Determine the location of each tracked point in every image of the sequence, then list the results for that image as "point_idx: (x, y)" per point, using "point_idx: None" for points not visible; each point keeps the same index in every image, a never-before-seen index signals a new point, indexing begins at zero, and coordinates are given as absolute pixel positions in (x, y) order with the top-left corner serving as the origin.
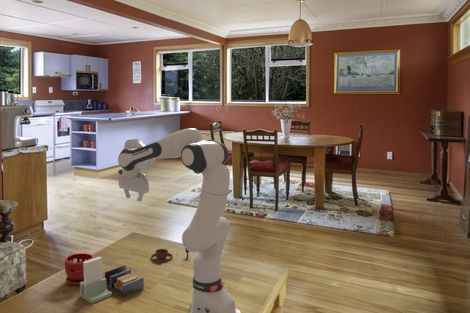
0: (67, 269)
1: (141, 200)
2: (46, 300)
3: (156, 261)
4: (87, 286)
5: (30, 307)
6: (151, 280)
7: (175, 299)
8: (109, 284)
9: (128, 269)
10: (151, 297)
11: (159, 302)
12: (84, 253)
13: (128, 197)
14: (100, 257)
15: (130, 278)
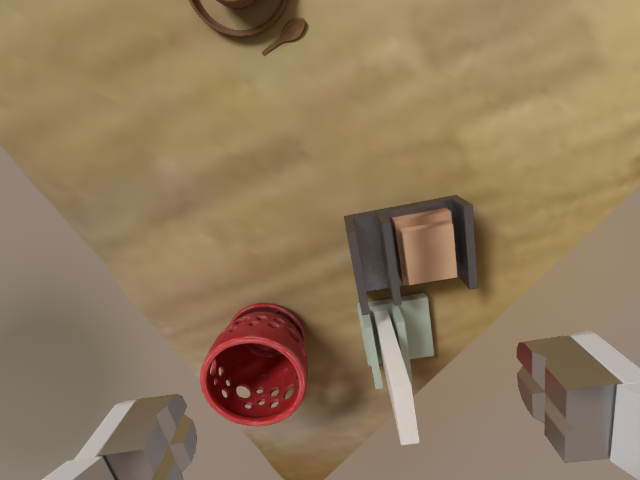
0: (273, 402)
1: (597, 348)
2: (335, 421)
3: (268, 27)
4: (412, 378)
5: (347, 452)
6: (418, 140)
7: (606, 142)
8: (372, 284)
9: (383, 229)
10: (528, 202)
11: (577, 197)
12: (213, 356)
13: (187, 432)
14: (403, 387)
15: (444, 247)
